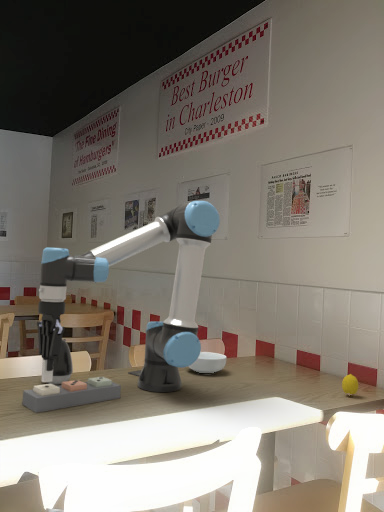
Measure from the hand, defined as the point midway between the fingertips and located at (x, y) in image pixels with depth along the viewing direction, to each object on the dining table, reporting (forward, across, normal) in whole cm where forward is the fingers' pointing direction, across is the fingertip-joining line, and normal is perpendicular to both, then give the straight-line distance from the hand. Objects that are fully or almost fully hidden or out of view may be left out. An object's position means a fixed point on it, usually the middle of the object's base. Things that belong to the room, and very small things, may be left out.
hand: (46, 381), depth 141 cm
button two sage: (+4, 0, +18) cm, 19 cm away
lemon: (+7, +45, +94) cm, 104 cm away
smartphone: (+8, -19, +52) cm, 56 cm away
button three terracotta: (+4, 0, +9) cm, 10 cm away
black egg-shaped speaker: (+7, -22, +15) cm, 27 cm away
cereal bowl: (+7, -8, +74) cm, 74 cm away
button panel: (+7, 0, +9) cm, 12 cm away
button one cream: (+4, 0, 0) cm, 4 cm away
